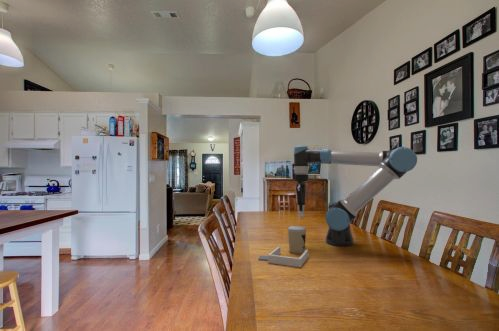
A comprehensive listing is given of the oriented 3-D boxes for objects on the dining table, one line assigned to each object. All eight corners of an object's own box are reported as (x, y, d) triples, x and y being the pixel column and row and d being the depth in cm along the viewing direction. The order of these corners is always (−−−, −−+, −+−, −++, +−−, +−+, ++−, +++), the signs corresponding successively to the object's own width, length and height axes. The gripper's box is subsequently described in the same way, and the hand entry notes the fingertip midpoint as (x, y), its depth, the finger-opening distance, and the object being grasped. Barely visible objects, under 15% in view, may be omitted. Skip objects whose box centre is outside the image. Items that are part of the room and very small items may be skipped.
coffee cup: (306, 254, 135) (306, 229, 135) (287, 253, 137) (287, 229, 137) (306, 249, 144) (306, 226, 144) (288, 248, 146) (288, 225, 146)
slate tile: (270, 258, 131) (270, 256, 131) (269, 262, 126) (269, 259, 126) (259, 257, 132) (259, 255, 132) (258, 261, 127) (258, 258, 127)
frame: (308, 257, 131) (308, 249, 131) (300, 267, 117) (300, 259, 117) (278, 253, 137) (278, 246, 137) (267, 262, 123) (267, 255, 123)
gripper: (297, 173, 158) (297, 214, 158) (291, 174, 146) (291, 218, 146) (310, 173, 155) (310, 215, 155) (305, 174, 143) (305, 219, 143)
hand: (301, 216), depth 150 cm, fingers closed
